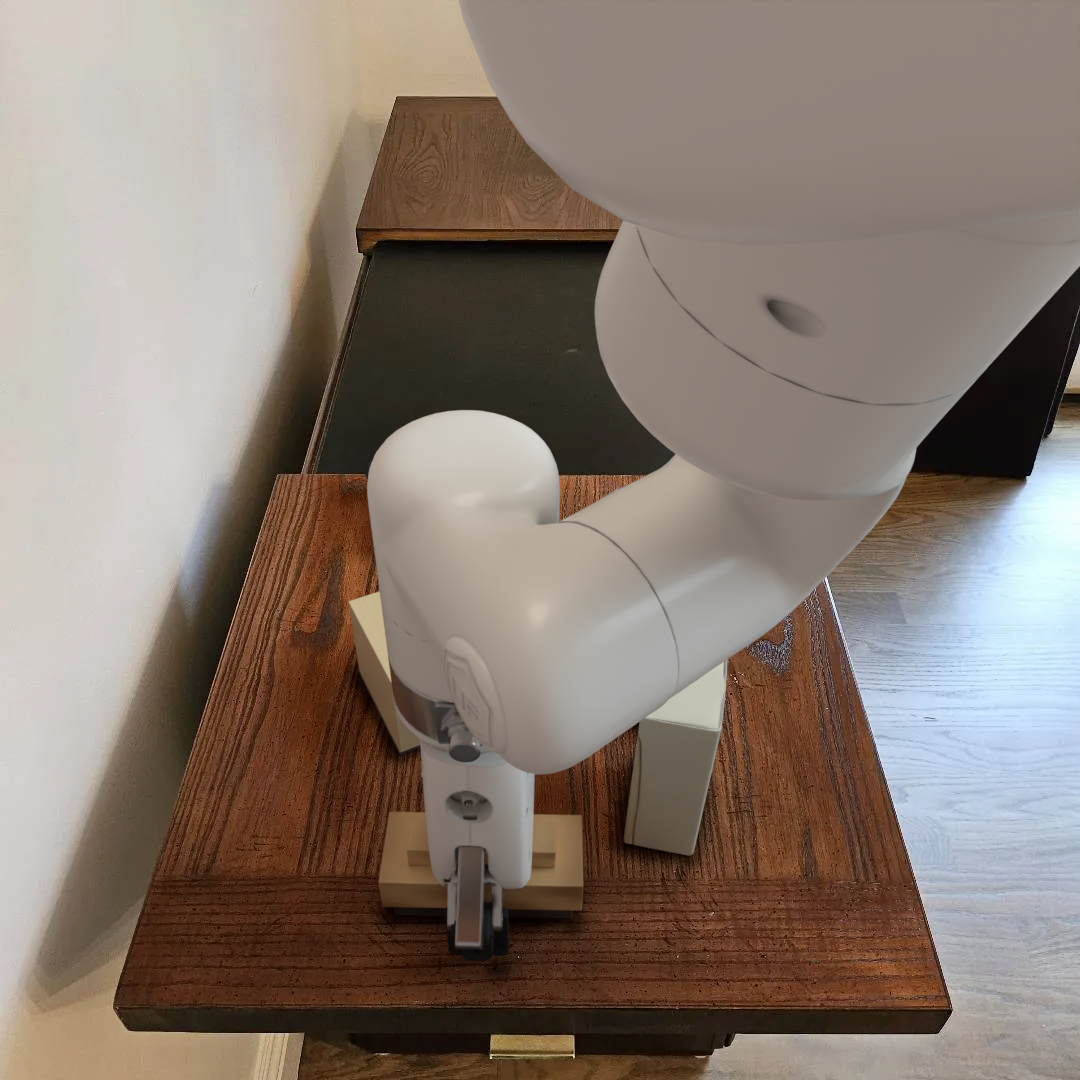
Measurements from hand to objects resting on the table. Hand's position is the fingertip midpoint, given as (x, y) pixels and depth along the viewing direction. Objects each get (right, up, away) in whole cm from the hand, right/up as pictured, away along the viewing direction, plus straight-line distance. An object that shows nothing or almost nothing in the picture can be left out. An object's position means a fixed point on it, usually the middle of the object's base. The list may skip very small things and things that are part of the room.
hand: (483, 874), depth 57 cm
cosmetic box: (+11, +2, +5) cm, 12 cm away
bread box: (-2, +9, +13) cm, 16 cm away
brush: (0, -1, +1) cm, 1 cm away
